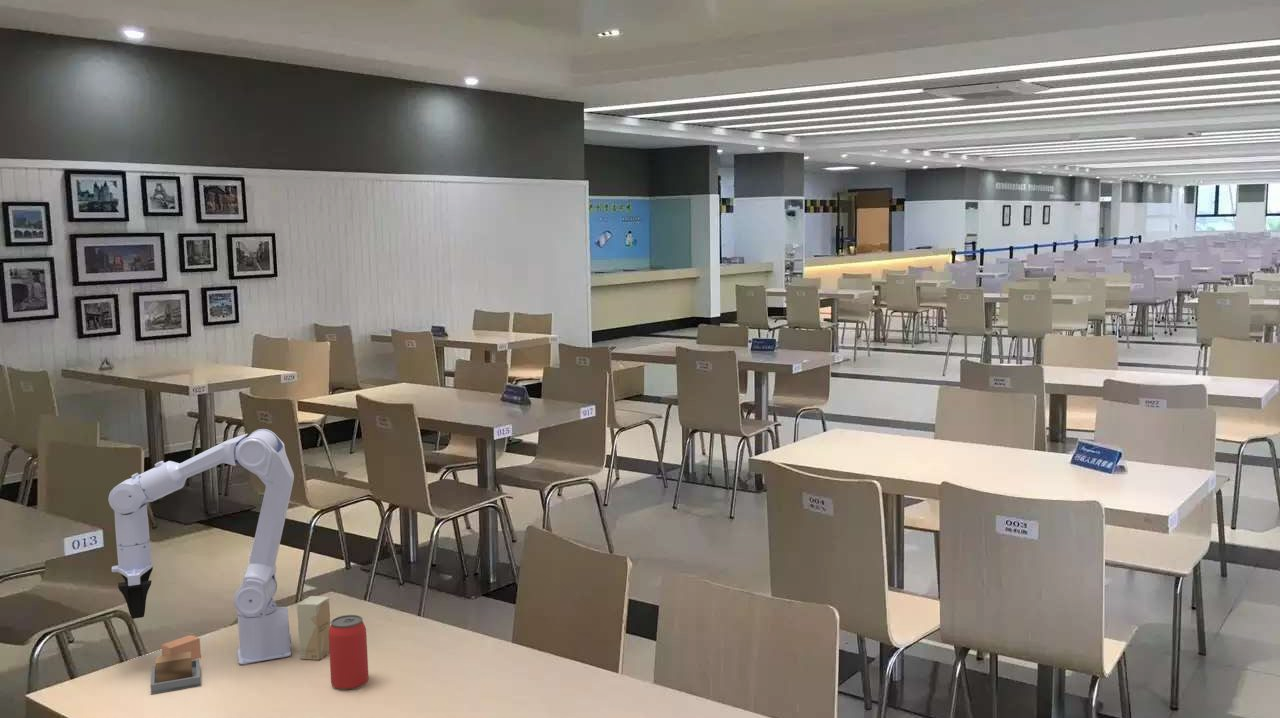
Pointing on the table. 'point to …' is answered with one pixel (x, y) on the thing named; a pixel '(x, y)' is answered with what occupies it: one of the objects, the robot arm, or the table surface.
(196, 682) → the tray
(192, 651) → the terracotta brick
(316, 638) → the box
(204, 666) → the table surface
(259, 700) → the table surface
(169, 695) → the table surface
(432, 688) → the table surface
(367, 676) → the beer can
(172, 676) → the walnut brick
